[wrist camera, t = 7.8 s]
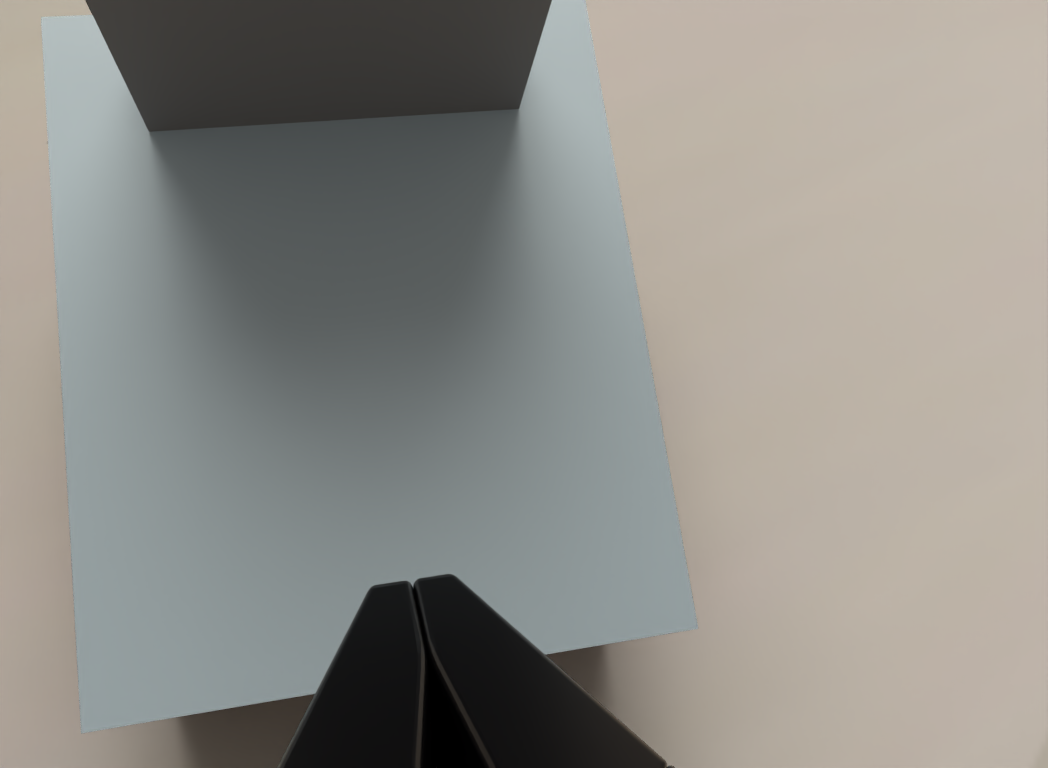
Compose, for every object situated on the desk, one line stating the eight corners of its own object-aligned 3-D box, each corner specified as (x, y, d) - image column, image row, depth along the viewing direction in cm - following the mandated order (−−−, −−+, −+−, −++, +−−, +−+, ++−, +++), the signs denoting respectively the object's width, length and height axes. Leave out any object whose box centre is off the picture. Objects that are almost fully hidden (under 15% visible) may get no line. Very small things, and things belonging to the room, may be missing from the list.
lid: (682, 626, 15) (1023, 664, 7) (97, 725, 14) (-295, 913, 6) (575, 21, 18) (749, -470, 9) (56, 45, 16) (-270, -526, 8)
